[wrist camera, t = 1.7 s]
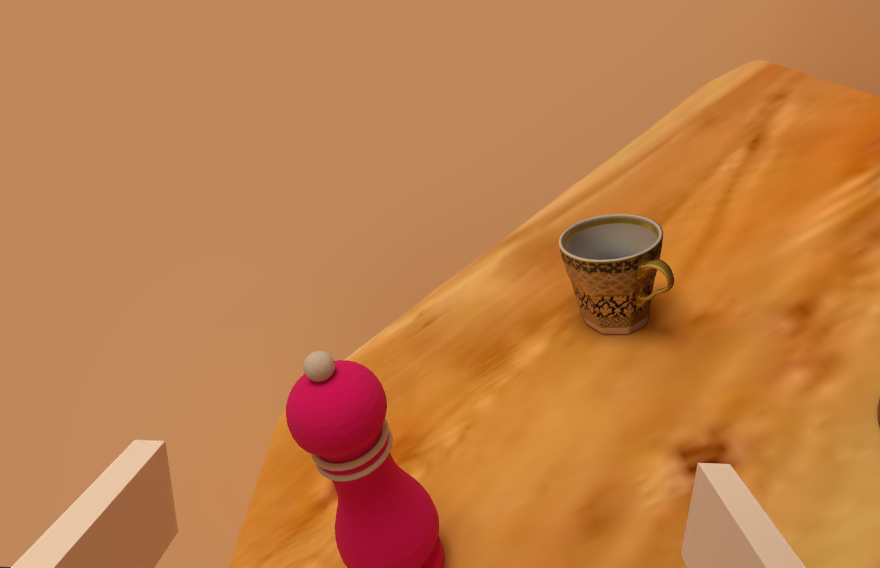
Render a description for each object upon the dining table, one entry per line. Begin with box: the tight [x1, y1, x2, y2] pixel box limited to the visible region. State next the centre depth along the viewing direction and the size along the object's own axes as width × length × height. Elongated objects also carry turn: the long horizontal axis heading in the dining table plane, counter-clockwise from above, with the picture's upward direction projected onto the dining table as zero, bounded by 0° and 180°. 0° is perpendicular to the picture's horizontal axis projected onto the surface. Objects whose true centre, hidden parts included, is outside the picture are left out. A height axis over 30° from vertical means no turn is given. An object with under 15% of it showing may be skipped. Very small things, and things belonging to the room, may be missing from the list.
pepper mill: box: [286, 351, 444, 568], centre depth 37 cm, size 7×7×20 cm
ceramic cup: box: [559, 214, 674, 334], centre depth 58 cm, size 13×10×10 cm
